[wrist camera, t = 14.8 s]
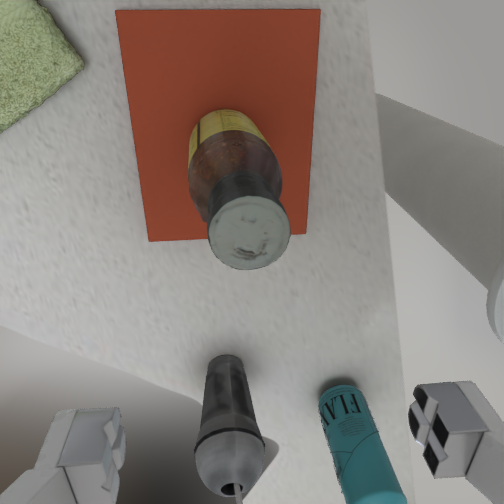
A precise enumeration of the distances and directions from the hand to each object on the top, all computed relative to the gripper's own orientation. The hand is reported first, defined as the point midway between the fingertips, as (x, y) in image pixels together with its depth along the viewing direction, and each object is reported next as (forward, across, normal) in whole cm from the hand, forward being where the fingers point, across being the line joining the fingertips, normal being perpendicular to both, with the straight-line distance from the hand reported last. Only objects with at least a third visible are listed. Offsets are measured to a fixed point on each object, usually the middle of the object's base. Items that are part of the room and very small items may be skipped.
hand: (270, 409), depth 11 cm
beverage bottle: (+31, -14, +35) cm, 48 cm away
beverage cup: (+31, +1, +29) cm, 42 cm away
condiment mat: (+30, 0, 0) cm, 30 cm away
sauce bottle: (+30, 0, 0) cm, 30 cm away
